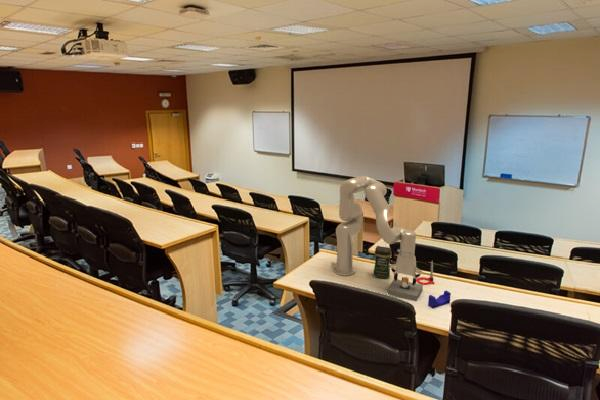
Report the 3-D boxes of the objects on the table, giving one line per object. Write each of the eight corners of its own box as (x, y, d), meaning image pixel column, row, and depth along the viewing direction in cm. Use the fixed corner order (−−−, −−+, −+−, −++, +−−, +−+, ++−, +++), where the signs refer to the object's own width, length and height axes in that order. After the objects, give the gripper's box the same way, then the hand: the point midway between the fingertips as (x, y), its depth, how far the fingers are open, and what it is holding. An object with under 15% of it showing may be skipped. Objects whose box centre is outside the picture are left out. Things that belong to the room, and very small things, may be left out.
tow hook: (418, 285, 212) (435, 285, 212) (418, 264, 209) (435, 264, 209) (414, 279, 220) (430, 278, 220) (415, 258, 217) (431, 258, 217)
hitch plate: (386, 293, 202) (386, 288, 201) (393, 283, 214) (394, 278, 213) (416, 301, 194) (416, 296, 194) (422, 289, 206) (422, 285, 206)
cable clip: (443, 299, 196) (444, 289, 195) (449, 303, 192) (450, 292, 191) (425, 304, 191) (426, 294, 190) (432, 308, 187) (433, 298, 186)
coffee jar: (372, 277, 222) (373, 248, 217) (375, 272, 229) (376, 243, 224) (388, 280, 218) (390, 250, 213) (391, 274, 225) (392, 245, 220)
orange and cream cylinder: (400, 292, 204) (401, 279, 202) (401, 289, 207) (402, 276, 205) (406, 294, 202) (407, 280, 200) (408, 291, 205) (409, 278, 203)
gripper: (389, 252, 200) (387, 281, 204) (422, 258, 191) (419, 289, 196) (393, 247, 206) (391, 276, 210) (425, 253, 198) (422, 283, 202)
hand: (404, 282), depth 203 cm, fingers open, 9 cm apart
